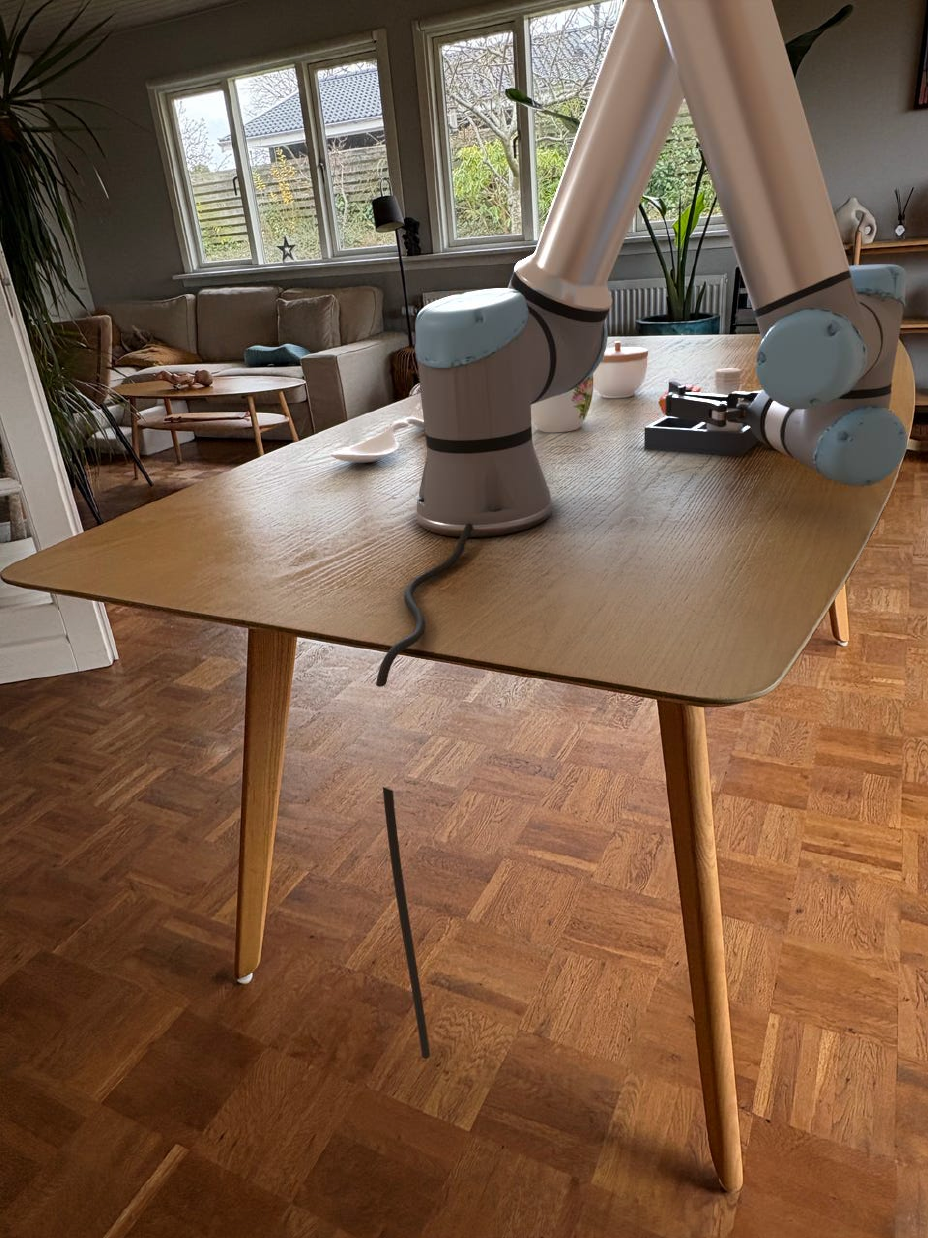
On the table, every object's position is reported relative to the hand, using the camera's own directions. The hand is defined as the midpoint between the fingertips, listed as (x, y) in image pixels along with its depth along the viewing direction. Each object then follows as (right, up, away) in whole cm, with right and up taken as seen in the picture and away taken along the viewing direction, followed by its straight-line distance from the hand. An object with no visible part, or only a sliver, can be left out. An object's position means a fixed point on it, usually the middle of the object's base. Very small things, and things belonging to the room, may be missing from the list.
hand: (721, 386), depth 107 cm
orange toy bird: (+1, +1, +20) cm, 20 cm away
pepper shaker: (+1, -7, +2) cm, 8 cm away
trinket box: (-6, +10, +41) cm, 43 cm away
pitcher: (-19, 0, +22) cm, 29 cm away
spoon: (-44, -4, +20) cm, 49 cm away
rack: (0, -6, +6) cm, 9 cm away
